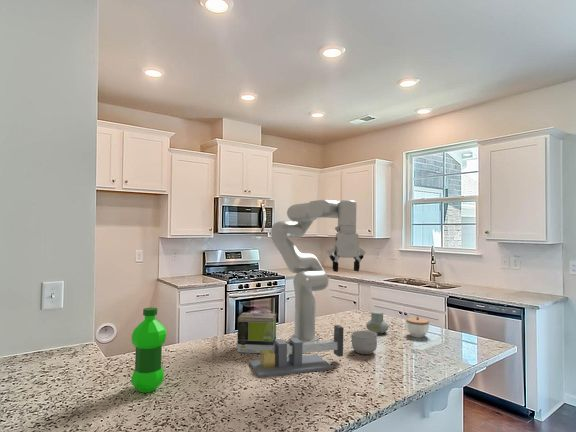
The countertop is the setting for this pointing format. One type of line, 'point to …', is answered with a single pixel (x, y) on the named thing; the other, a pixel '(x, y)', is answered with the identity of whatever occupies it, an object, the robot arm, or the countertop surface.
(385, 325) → the air freshener
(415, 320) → the lidded jar
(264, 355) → the block
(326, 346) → the shaft
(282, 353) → the bracket
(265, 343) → the tea box
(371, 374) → the countertop surface
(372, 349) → the teacup
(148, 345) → the plastic bottle
